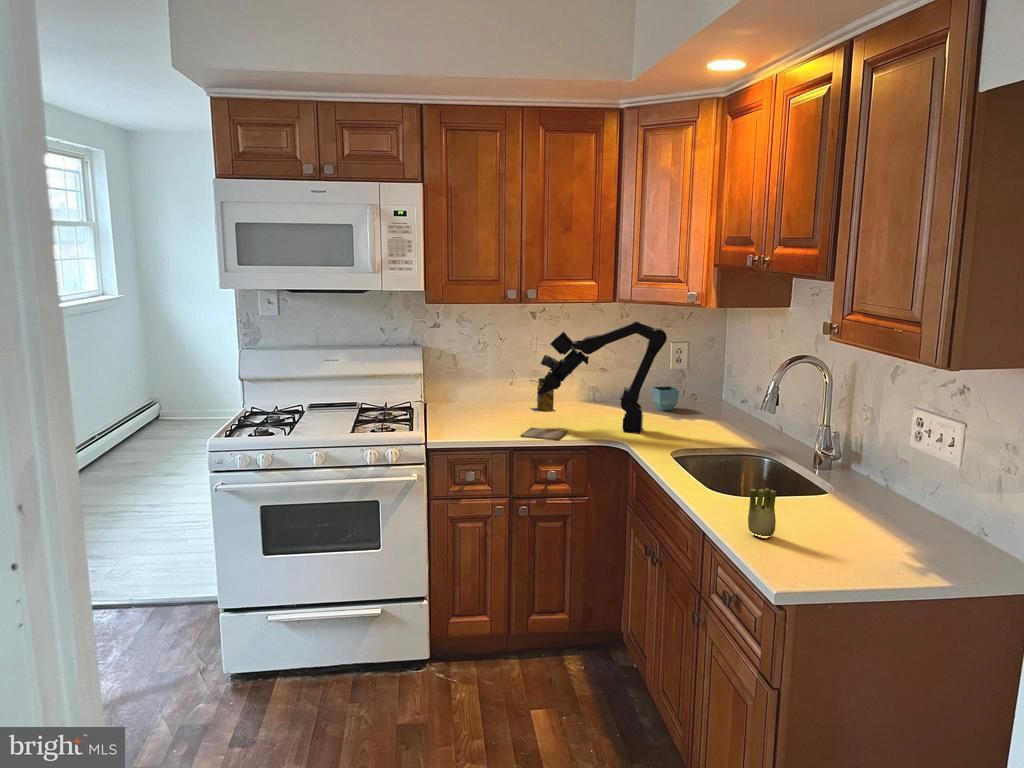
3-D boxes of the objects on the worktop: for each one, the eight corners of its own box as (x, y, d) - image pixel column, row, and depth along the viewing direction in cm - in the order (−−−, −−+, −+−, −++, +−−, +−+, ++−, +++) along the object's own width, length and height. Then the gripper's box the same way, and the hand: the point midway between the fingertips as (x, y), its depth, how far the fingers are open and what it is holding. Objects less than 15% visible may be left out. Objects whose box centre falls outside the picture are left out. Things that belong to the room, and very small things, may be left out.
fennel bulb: (745, 536, 186) (748, 488, 184) (753, 530, 190) (756, 483, 188) (768, 542, 183) (772, 493, 180) (776, 536, 186) (780, 488, 184)
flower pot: (650, 407, 326) (651, 386, 324) (669, 406, 328) (670, 385, 326) (659, 412, 318) (660, 390, 316) (679, 411, 320) (680, 389, 318)
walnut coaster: (567, 432, 284) (567, 430, 284) (558, 440, 273) (558, 438, 273) (531, 429, 289) (531, 427, 288) (520, 436, 277) (520, 435, 277)
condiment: (556, 411, 287) (557, 379, 285) (534, 412, 285) (534, 380, 284) (551, 408, 294) (551, 376, 292) (529, 408, 292) (529, 377, 291)
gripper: (556, 344, 294) (527, 372, 298) (551, 351, 276) (520, 381, 280) (577, 365, 295) (548, 393, 298) (572, 374, 276) (542, 403, 280)
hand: (539, 392), depth 289 cm, fingers closed on condiment, 6 cm apart
